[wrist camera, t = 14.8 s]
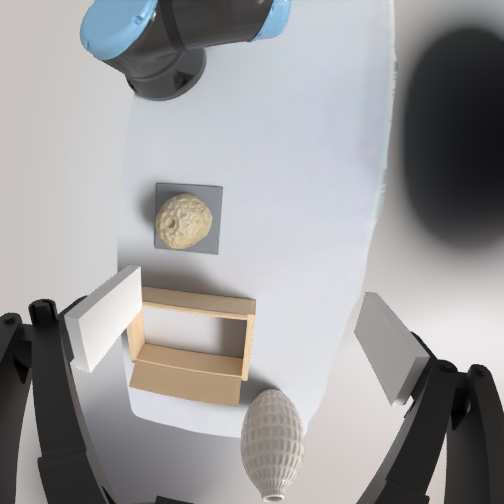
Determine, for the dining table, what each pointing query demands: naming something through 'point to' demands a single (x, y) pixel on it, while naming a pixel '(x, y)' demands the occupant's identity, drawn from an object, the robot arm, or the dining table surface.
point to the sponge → (183, 221)
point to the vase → (272, 444)
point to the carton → (186, 362)
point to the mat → (210, 198)
